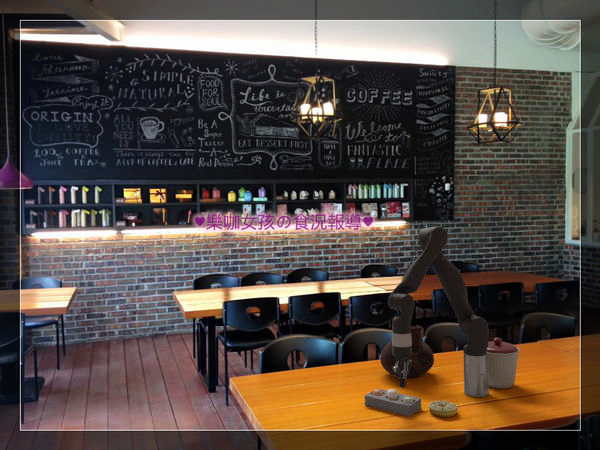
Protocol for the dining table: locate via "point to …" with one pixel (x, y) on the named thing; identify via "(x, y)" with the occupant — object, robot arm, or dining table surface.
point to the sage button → (408, 399)
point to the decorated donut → (443, 408)
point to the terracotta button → (377, 392)
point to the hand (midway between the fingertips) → (402, 387)
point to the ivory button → (392, 394)
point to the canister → (501, 363)
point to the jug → (420, 356)
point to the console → (393, 403)
